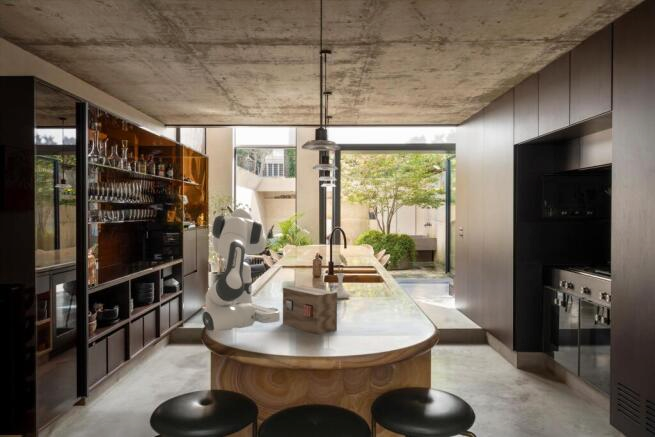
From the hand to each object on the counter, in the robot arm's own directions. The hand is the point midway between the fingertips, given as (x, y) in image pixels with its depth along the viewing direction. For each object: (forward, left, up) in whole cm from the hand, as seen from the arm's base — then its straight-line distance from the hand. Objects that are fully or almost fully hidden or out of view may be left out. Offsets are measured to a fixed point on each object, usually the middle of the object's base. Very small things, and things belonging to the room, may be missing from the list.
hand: (275, 310), depth 200 cm
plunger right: (+11, +16, -4) cm, 20 cm away
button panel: (+7, +21, -11) cm, 25 cm away
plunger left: (0, +24, -4) cm, 25 cm away
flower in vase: (+4, +93, -11) cm, 94 cm away
